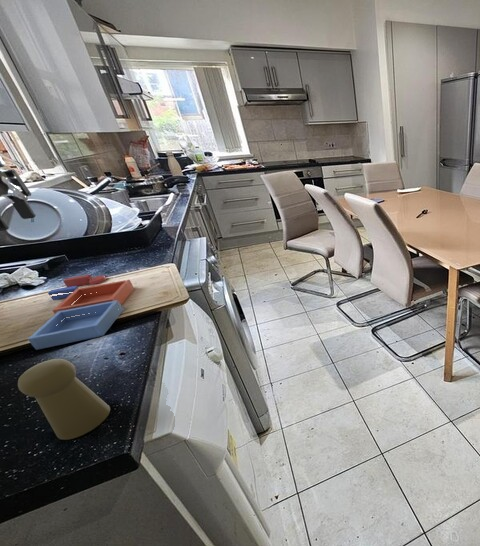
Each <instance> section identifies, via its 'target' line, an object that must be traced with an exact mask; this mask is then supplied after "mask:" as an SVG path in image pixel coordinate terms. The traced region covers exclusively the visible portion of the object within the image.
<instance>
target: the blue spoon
mask: <svg viewBox="0 0 480 546" xmlns="http://www.w3.org/2000/svg"><path fill="white" fill-rule="evenodd" d="M78 288H79V286H72V287H67V286H66V287H61V288H56V289H55V288H54V289H51V290H49V291H48V292H47V295H49V296H50V295H52V294H58V293H69V292H74V291H75V290H76V289H78ZM70 294H71V293H69V294H63V295H57V296H52V297H50V298H51V300H52V301H57V300H64V299H66V298H67V297H68V296H69V295H70Z"/></svg>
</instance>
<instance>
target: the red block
mask: <svg viewBox="0 0 480 546" xmlns="http://www.w3.org/2000/svg"><path fill="white" fill-rule="evenodd" d="M106 280H107V278H106V277H105V275H96V276H94V277H92V276H91V274H84V275H78V276H71V277H67V278H65V279H63V280H62V281H63V283H64V285H65V286H66V287H72V286H77V287H80V286H87V285H90V286H96V285H100V284H101V283H102V284H103V283H104V282H105V281H106Z"/></svg>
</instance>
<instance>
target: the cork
mask: <svg viewBox="0 0 480 546" xmlns="http://www.w3.org/2000/svg"><path fill="white" fill-rule="evenodd" d="M76 375H77V371H76V366H75V365H74V364H73V363H72V362H71V361H69V360H67V359H65V358H53V359H48V360H45V361H42V362H40V363H37V364H35V365H33V366H31V367H29V368H28V369H27V370H25V371H24V372H23V373H22V374H21V375H20V376H19V377H18V381H17V387H18V391H20V392H21V393H22V394H24V395H25V396H27V397H29V398H35V400H36V402H37V404H38V405H39V407H40V409H41V411H42V412H43V414H44V416H45V418H46V420H47V422H48V424H49V425H50V427H51V429H52V430H53V433H54V435H55V436H56V437H57V438H58V439H59V440H62V441H63V440H64V441H68V440H72V439H76V438H79V437H81V436H83V435H85V434H87V433H90V432H91V431H93V430H94V429H96V428H97V427H98V426H100V425H101V424H102V423H103V422H104V421H105V420H106V419H107V418H108V416H109V415H110V412H111V406H110V405H109V404H107V403H106V402H105V401H104V400H103V399H102V398H101V397H100V396H98V395H97V394H96V393H95V392H94V391H93V390H91V389H90V387H88V386H87V385H86V384H84V383H83V382H82V381H81V380H80V379H79V378H78V377H77V376H76Z"/></svg>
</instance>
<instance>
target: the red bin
mask: <svg viewBox="0 0 480 546" xmlns="http://www.w3.org/2000/svg"><path fill="white" fill-rule="evenodd" d="M134 289H135V287H134V285H133V284H132V281H131V280H130V279H125V280H119V281H114V282H113V281H112V282H108V283H107V282H106V283H102V284H101V283H100V284H95V285H90V286H83V287H78V289H76V290H75V291H74V292H73V293H71V294H70V295H69V296H68V297H67V298H64V299H63V300H62V301H61V302H60V303H59V304H58V305H57V306H55V307H54V308H52V310H51V311H52V312H53V313H54V314H53V315H55V314H56V313H57V312H58V311H63V310H68V309H74V308H79V307H84V306H90V305H95V304H100V303H106V302H111V301H116V300H118V301H119V303H120V305H121V306H122V305H123V303H124V302H125V301H126V300H127V298H128V297H129V296H130V295H131V293H132V292H133V291H134ZM96 292H97V293H96ZM90 293H92V294H90ZM84 294H86V295H84ZM81 295H82V296H81ZM80 296H81V297H80ZM79 297H80V298H79ZM78 298H79V299H78ZM77 299H78V300H77ZM76 300H77V301H76ZM74 301H76V302H75V303H74V304H73V305H71V304H72V303H73V302H74Z"/></svg>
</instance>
